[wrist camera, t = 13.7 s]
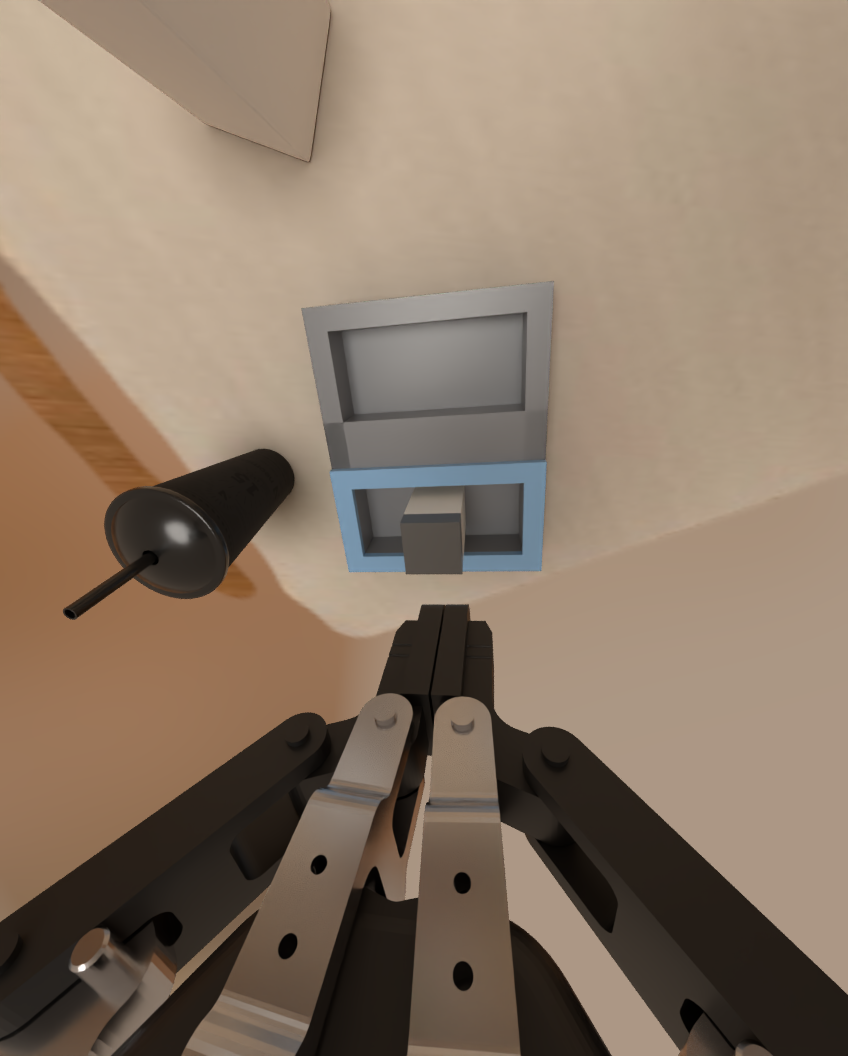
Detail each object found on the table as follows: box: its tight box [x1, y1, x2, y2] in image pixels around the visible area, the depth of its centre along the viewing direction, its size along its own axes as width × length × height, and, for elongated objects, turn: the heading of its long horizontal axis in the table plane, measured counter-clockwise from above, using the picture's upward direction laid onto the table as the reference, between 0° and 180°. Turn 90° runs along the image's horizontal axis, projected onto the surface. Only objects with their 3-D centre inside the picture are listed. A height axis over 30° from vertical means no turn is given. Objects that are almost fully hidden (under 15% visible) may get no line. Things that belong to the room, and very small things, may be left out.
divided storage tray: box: [301, 281, 554, 572], centre depth 31 cm, size 16×20×5 cm
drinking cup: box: [63, 449, 294, 620], centre depth 28 cm, size 8×8×20 cm
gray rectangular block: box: [400, 485, 466, 574], centre depth 31 cm, size 4×4×8 cm
